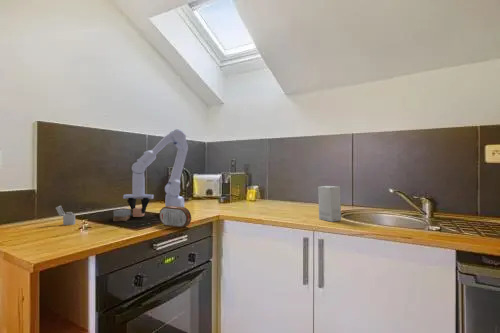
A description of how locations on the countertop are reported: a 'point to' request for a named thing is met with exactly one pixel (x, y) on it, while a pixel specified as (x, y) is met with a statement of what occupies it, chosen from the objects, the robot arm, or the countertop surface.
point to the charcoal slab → (122, 212)
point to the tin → (175, 216)
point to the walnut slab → (121, 218)
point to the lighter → (66, 216)
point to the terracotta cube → (137, 212)
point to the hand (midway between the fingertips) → (138, 213)
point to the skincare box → (329, 203)
